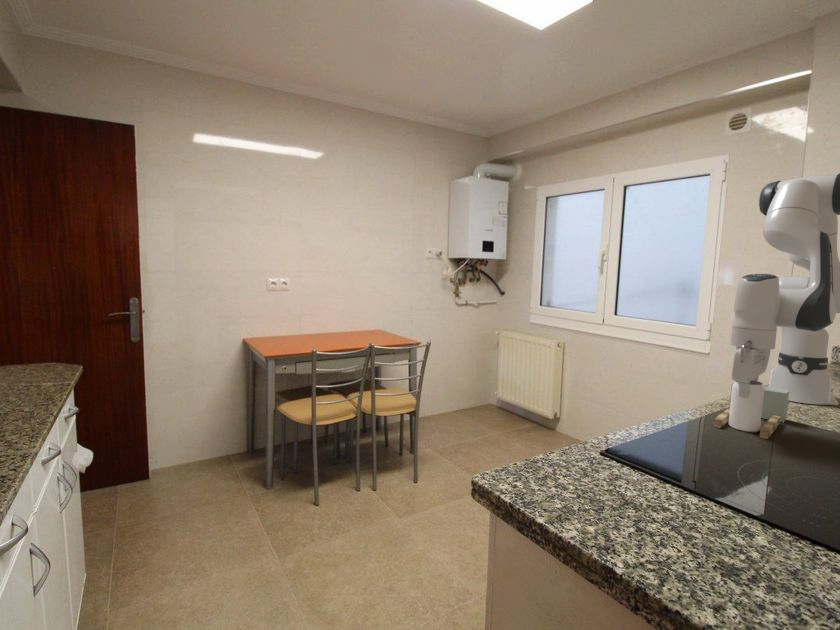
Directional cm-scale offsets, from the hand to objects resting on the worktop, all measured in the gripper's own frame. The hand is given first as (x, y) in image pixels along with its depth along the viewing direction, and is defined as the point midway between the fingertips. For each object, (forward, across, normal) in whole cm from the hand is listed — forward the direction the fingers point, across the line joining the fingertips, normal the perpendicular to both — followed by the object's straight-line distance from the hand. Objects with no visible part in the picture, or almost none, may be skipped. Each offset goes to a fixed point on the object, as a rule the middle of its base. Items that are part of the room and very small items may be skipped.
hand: (747, 394), depth 111 cm
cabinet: (+9, +16, 0) cm, 18 cm away
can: (+9, 0, 0) cm, 9 cm away
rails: (+9, +4, 0) cm, 9 cm away
